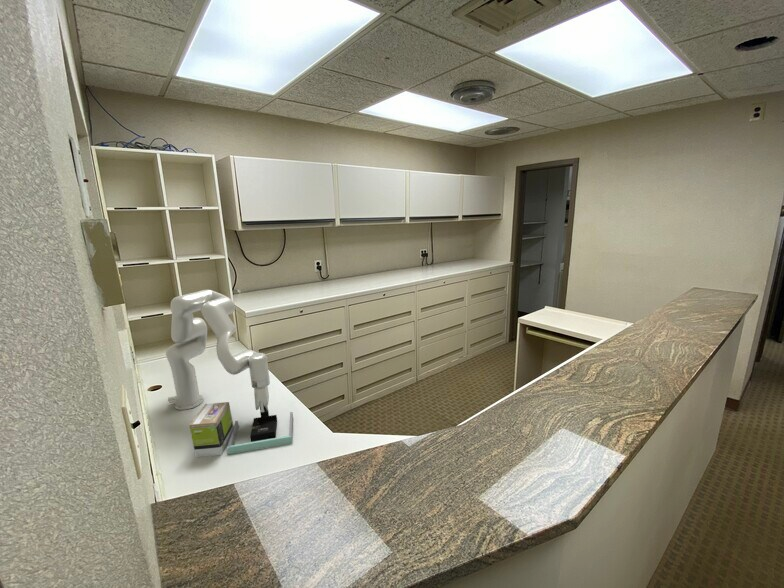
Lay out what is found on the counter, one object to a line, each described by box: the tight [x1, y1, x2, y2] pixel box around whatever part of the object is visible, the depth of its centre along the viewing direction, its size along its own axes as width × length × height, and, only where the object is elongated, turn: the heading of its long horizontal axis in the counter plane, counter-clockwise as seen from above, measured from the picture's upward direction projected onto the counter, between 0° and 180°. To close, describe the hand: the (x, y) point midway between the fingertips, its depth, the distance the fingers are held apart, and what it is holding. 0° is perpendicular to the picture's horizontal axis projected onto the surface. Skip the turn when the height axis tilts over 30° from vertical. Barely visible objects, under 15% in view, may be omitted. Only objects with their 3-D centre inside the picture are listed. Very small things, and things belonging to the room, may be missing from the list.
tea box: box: [189, 401, 234, 458], centre depth 142 cm, size 15×10×15 cm
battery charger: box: [249, 414, 278, 442], centre depth 150 cm, size 13×10×4 cm
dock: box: [226, 411, 294, 455], centre depth 148 cm, size 24×18×3 cm
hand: (265, 418), depth 158 cm, fingers closed
